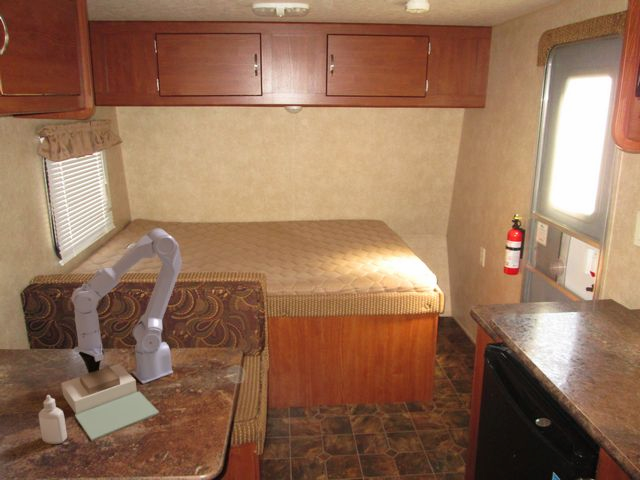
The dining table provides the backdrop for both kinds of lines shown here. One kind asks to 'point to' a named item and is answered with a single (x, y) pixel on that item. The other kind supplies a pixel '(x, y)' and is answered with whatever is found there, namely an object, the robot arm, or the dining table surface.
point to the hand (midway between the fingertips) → (93, 374)
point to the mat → (116, 415)
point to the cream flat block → (85, 401)
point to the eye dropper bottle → (52, 422)
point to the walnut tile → (99, 380)
